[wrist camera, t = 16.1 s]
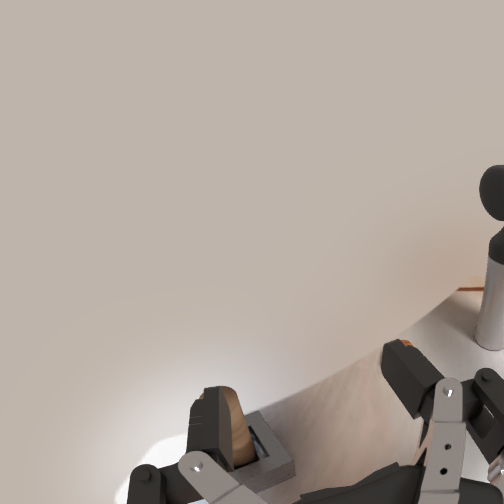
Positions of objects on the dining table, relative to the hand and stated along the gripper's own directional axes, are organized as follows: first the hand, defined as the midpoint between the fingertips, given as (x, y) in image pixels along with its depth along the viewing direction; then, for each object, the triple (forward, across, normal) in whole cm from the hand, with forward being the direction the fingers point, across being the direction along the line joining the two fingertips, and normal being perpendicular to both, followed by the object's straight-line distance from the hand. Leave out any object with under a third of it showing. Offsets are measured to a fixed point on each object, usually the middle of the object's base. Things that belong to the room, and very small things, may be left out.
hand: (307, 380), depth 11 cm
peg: (+10, +8, +25) cm, 28 cm away
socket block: (+10, +8, +26) cm, 29 cm away
